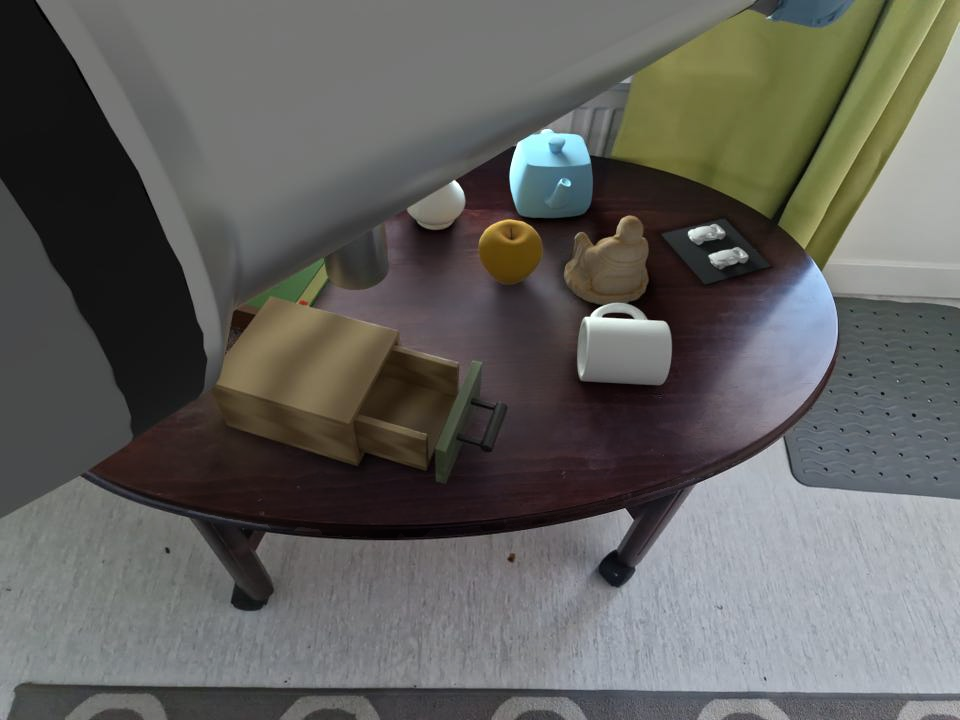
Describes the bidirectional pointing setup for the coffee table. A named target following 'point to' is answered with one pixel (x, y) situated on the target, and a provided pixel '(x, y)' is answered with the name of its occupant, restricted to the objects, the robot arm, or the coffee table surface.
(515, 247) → the apple
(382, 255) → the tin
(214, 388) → the cabinet
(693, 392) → the coffee table surface
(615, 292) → the statue
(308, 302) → the book
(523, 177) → the teapot
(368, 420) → the drawer
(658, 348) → the mug
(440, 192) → the flower vase
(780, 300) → the coffee table surface
